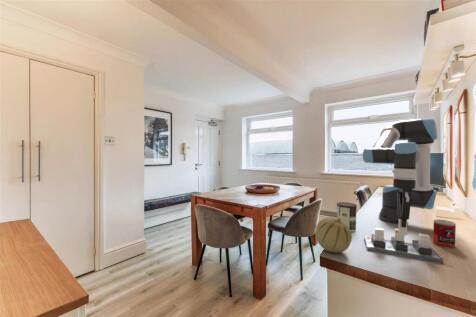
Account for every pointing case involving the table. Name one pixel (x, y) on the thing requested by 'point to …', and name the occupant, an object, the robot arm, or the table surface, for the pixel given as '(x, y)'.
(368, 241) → the panel
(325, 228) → the cantaloupe
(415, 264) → the table surface
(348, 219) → the coffee can
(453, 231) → the canned food
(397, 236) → the handle
